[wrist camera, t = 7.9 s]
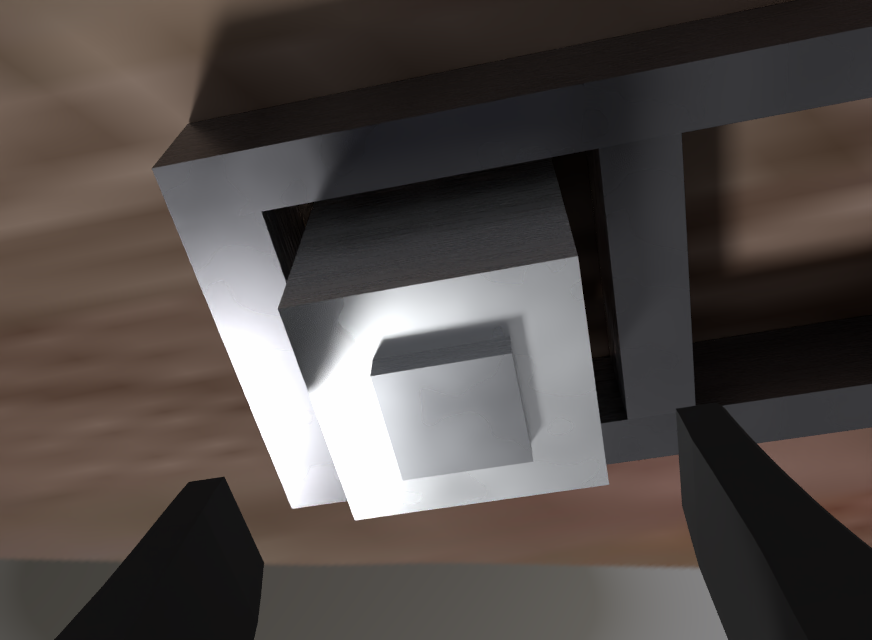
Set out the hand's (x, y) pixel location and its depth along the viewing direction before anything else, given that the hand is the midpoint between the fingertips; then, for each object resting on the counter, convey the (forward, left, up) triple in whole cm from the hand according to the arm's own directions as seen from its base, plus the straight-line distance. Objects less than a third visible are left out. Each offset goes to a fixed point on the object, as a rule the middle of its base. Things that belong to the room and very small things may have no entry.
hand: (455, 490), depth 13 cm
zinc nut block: (0, 0, -8) cm, 8 cm away
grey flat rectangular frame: (+4, 0, -7) cm, 8 cm away
